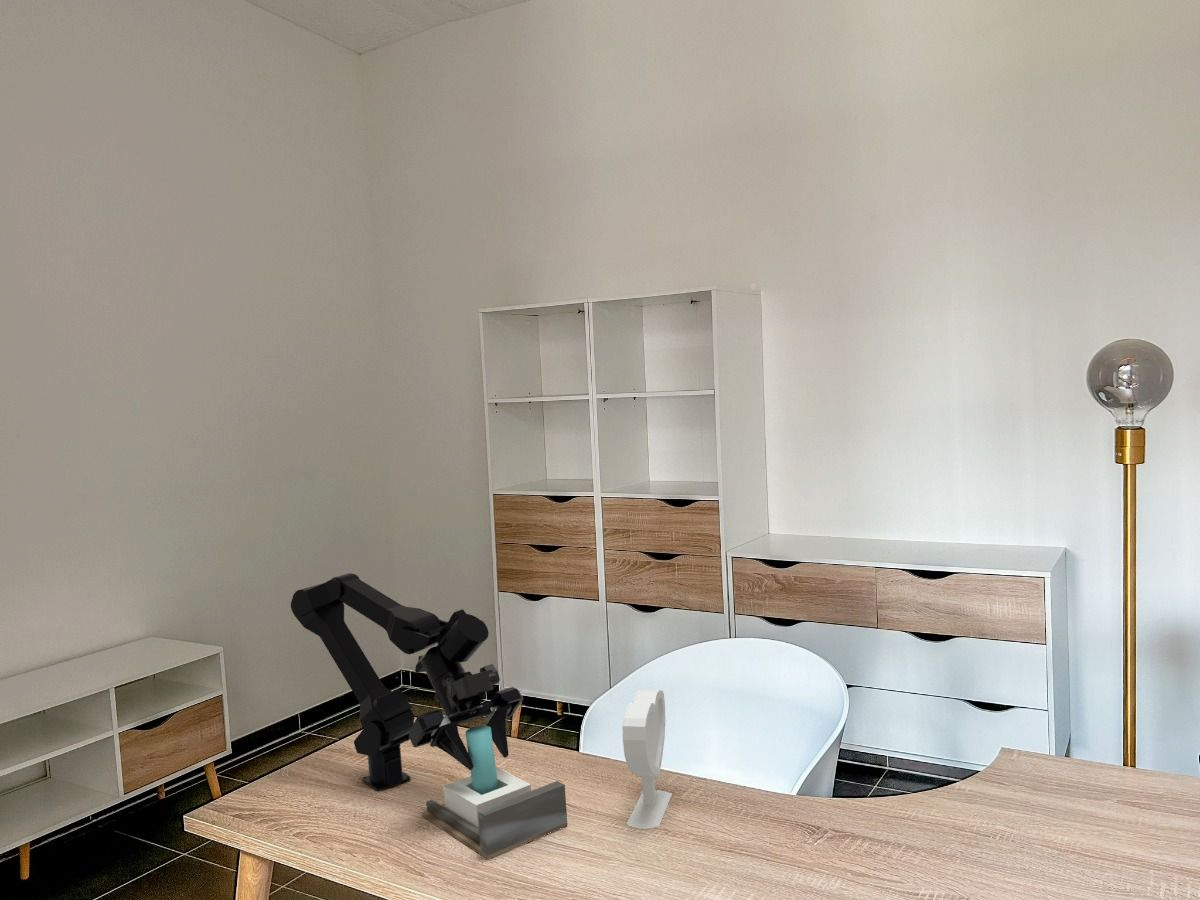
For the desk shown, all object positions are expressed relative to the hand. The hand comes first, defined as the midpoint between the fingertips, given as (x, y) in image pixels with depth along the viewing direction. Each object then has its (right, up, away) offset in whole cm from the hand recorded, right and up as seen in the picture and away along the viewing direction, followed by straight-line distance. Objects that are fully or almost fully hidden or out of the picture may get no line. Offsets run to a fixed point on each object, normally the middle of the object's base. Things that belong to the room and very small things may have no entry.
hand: (489, 762), depth 151 cm
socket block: (0, -9, +2) cm, 9 cm away
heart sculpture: (+25, -8, +2) cm, 27 cm away
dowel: (0, -8, +2) cm, 8 cm away
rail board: (+1, -9, +1) cm, 10 cm away
